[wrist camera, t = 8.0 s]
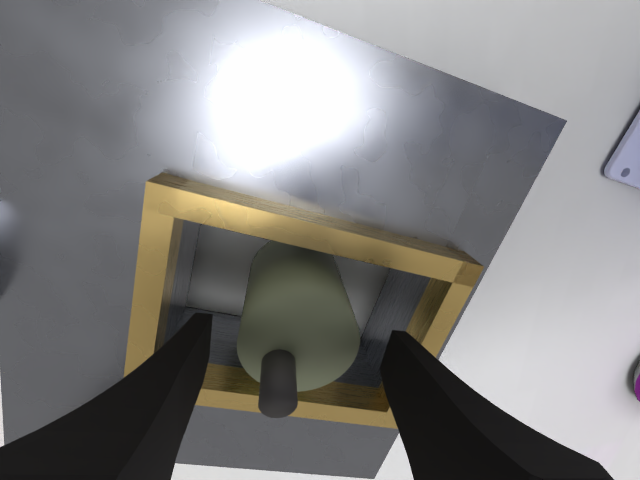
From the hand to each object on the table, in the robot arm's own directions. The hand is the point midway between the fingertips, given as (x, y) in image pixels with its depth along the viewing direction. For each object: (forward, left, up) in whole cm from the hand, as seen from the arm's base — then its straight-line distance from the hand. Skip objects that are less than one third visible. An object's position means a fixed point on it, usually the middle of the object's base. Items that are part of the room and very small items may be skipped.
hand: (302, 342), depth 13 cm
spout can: (0, 0, -6) cm, 6 cm away
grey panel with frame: (+4, 0, -6) cm, 7 cm away
